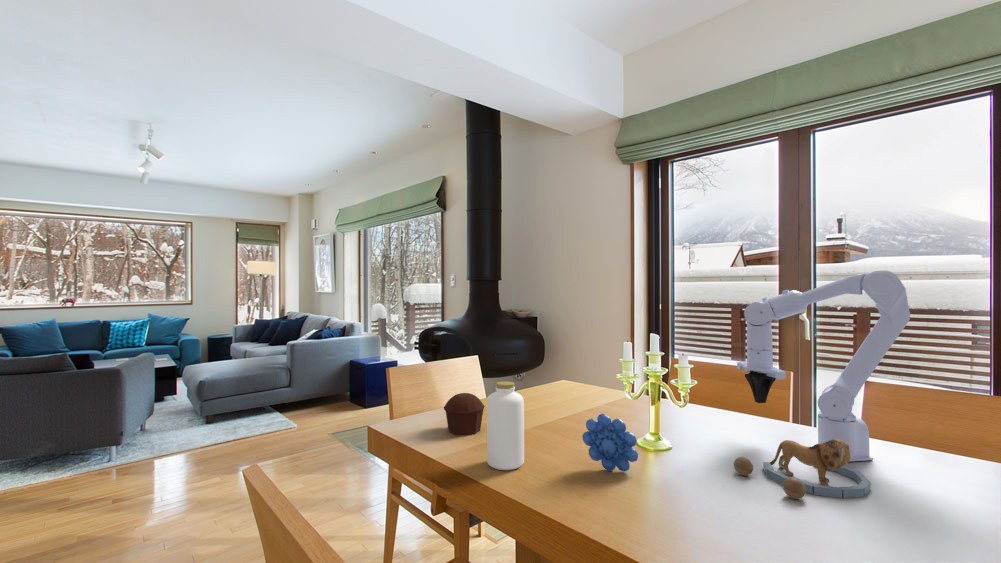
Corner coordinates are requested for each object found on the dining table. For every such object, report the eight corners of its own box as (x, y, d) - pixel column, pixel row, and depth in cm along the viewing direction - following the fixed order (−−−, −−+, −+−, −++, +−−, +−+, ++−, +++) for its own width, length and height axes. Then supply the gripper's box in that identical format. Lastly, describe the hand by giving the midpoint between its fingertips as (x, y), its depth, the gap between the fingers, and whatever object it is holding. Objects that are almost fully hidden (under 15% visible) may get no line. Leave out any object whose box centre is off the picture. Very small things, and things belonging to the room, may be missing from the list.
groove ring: (824, 464, 100) (824, 457, 100) (893, 493, 85) (893, 485, 85) (754, 469, 97) (753, 462, 97) (813, 501, 82) (812, 492, 82)
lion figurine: (853, 484, 89) (852, 438, 89) (848, 492, 85) (847, 445, 86) (770, 464, 100) (770, 423, 100) (762, 470, 96) (762, 428, 96)
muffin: (449, 423, 131) (449, 389, 131) (487, 425, 129) (487, 390, 130) (438, 436, 119) (438, 398, 119) (480, 438, 118) (479, 400, 118)
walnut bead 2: (795, 492, 85) (794, 473, 85) (811, 501, 82) (810, 481, 82) (778, 494, 85) (777, 475, 85) (793, 503, 81) (793, 483, 81)
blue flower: (579, 474, 94) (578, 417, 94) (584, 463, 100) (584, 409, 101) (637, 482, 90) (636, 422, 90) (638, 470, 97) (638, 413, 97)
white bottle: (531, 464, 100) (531, 382, 100) (506, 475, 94) (506, 388, 94) (504, 454, 106) (504, 378, 106) (478, 464, 100) (478, 383, 100)
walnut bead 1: (745, 470, 96) (744, 453, 96) (757, 477, 92) (757, 460, 92) (729, 472, 95) (729, 454, 95) (741, 479, 92) (741, 461, 92)
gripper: (726, 346, 122) (727, 396, 121) (766, 353, 107) (767, 410, 107) (750, 345, 123) (750, 395, 123) (792, 352, 109) (793, 409, 108)
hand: (760, 402), depth 115 cm, fingers closed
